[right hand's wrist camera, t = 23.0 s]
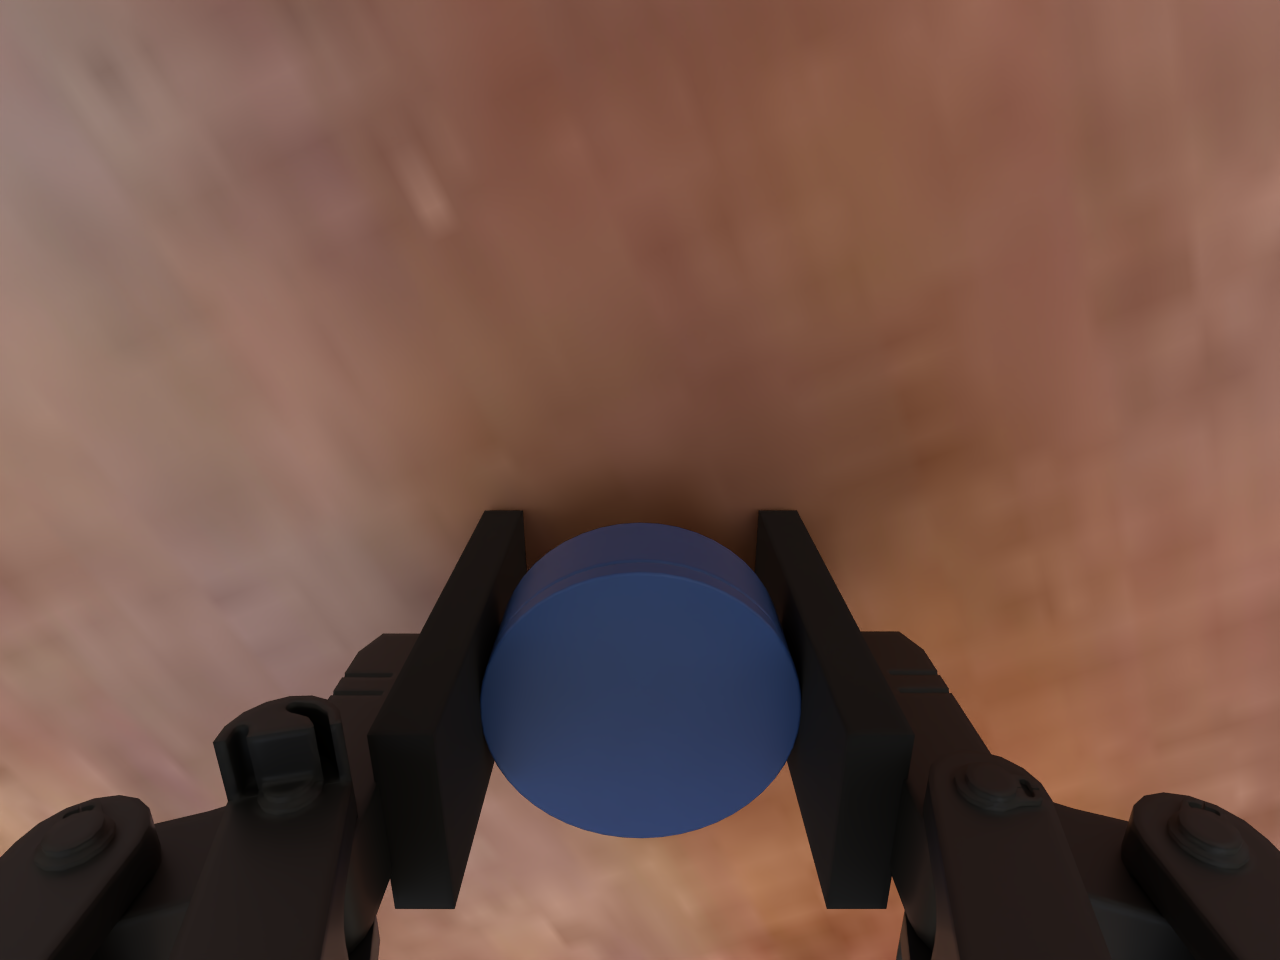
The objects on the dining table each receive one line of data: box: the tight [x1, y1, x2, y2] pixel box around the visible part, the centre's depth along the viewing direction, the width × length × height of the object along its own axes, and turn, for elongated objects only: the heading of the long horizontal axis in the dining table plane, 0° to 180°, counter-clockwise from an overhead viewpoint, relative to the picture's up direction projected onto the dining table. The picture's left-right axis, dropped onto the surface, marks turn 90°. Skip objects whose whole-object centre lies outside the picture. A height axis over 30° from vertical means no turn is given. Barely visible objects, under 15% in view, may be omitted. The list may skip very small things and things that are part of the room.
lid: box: [480, 523, 802, 838], centre depth 11 cm, size 5×5×2 cm
